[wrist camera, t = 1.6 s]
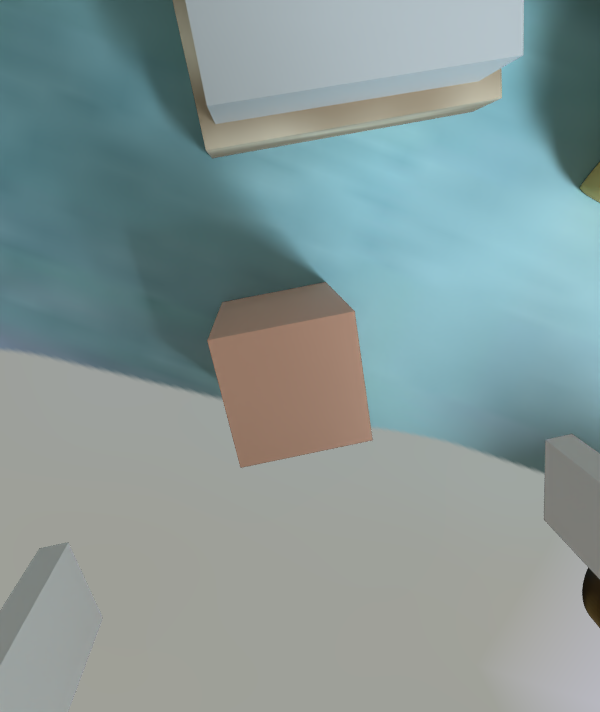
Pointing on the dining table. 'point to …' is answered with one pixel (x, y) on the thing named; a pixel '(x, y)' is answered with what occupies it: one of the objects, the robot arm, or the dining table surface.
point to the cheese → (592, 184)
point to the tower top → (344, 50)
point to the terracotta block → (290, 373)
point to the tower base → (327, 109)
